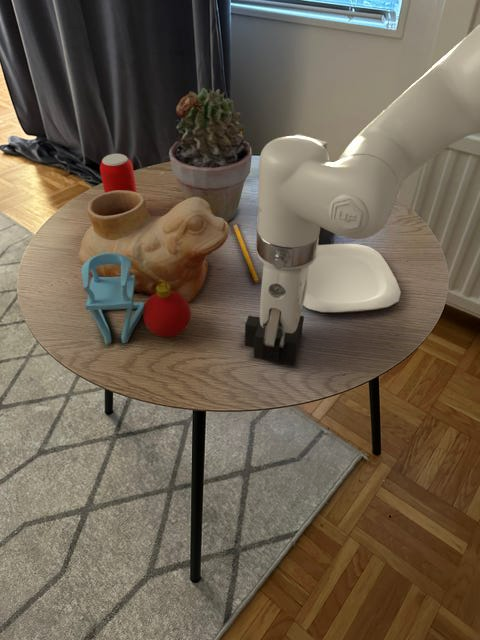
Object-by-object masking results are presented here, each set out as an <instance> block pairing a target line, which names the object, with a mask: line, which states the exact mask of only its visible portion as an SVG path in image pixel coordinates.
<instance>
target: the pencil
mask: <svg viewBox="0 0 480 640" xmlns="http://www.w3.org/2000/svg"><path fill="white" fill-rule="evenodd" d="M232 227H233V230H234V232H235V234H236V237H237V240H238V242H239V245H240V248H241V250H242V252H243V256H244V258H245V260H246V263H247V266H248V269H249V271H250V274H251V276H252V279H253V281H254V283H255V284H257V283H259V277H258V275H257V271H256V270H255V267H254V265H253V263H252V260H251V257H250V254H249V252H248V250H247V246H246V245H245V242H244V239H243V236H242V234H241V231H240V229H239V227H238V224H237V222H233V223H232Z"/></svg>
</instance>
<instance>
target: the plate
mask: <svg viewBox="0 0 480 640" xmlns="http://www.w3.org/2000/svg"><path fill="white" fill-rule="evenodd" d="M401 291H402V290H401V289H400V285H399V283H398V280H397V278H396V277H395V275H394V273H393V272H392V270H391V268H390V266H389V265H388V263H387V261H386V259H384V257H383V256H382V255H381V253H380V252H378V251H377V250H375V249H373V248H372V247H371V246H368V245H363V244H359V243H331V244H329V245H318V248H317V255H316V259H315V260H314V262H313V263H312V264H311V265H309V267H308V277H307V290H306V296H305V300H304V304H303V308H305V309H307V310H308V311H313V312H316V313H321V314H323V313H324V314H344V313H359V312H369V311H376V310H383V309H388V308H390V307H392V306H394V305H395V304H397V303H399V301H400V298H401V293H402V292H401Z"/></svg>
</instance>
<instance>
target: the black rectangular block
mask: <svg viewBox="0 0 480 640" xmlns="http://www.w3.org/2000/svg"><path fill="white" fill-rule="evenodd" d="M304 320H305V316H304V315H300V319H299V323H298V326H297V329H296V331H295V332H294V333H292V334H291V333H286V336H285V342H287V344H286V354H285V361H284V363H281V364H283V365H288V366H292V367H293V366H295V364H296V360H297V356H298V352H299V348H300V344H301V341H302V335H303V328H304ZM279 323H281V322H280V321H279ZM244 325H245V326H244V346H246V347H249V348H253V358H255V359H259V360H264V359H263V358H262V354H263V339H264V335H265V327H264V328H263V327H262V326H261V325H260V316H255V315H248V316H247V319H246V321H245V324H244ZM281 331H282V330H278V332H277V337H278V338H281ZM264 361H265V360H264Z"/></svg>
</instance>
